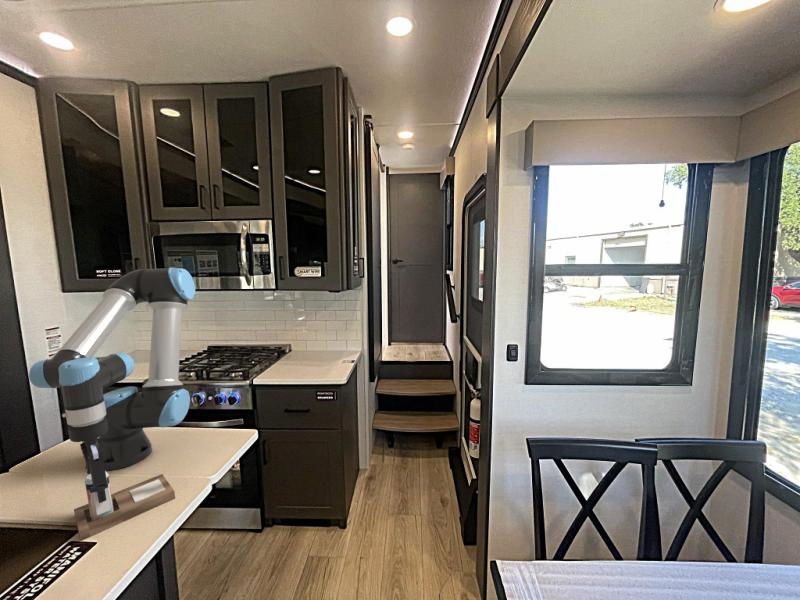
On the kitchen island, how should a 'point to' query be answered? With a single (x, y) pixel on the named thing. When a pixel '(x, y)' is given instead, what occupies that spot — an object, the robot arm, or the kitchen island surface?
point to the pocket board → (126, 505)
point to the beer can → (91, 498)
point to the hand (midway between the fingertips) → (101, 504)
